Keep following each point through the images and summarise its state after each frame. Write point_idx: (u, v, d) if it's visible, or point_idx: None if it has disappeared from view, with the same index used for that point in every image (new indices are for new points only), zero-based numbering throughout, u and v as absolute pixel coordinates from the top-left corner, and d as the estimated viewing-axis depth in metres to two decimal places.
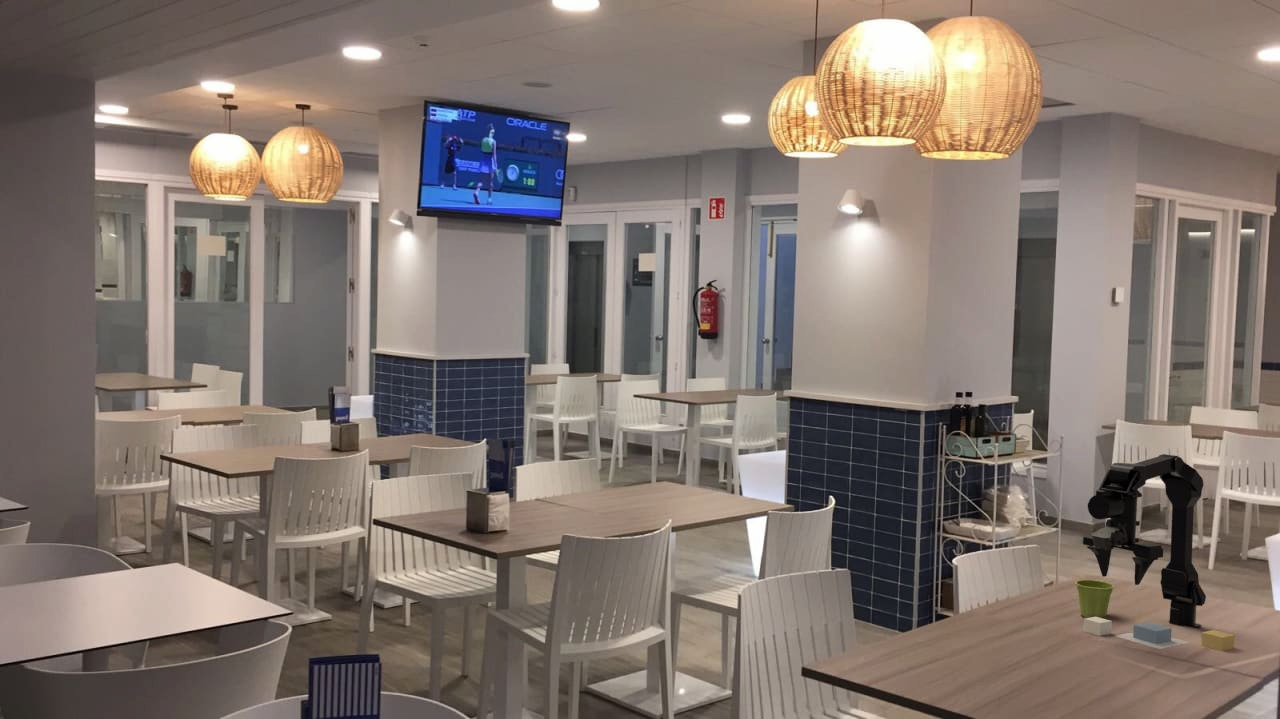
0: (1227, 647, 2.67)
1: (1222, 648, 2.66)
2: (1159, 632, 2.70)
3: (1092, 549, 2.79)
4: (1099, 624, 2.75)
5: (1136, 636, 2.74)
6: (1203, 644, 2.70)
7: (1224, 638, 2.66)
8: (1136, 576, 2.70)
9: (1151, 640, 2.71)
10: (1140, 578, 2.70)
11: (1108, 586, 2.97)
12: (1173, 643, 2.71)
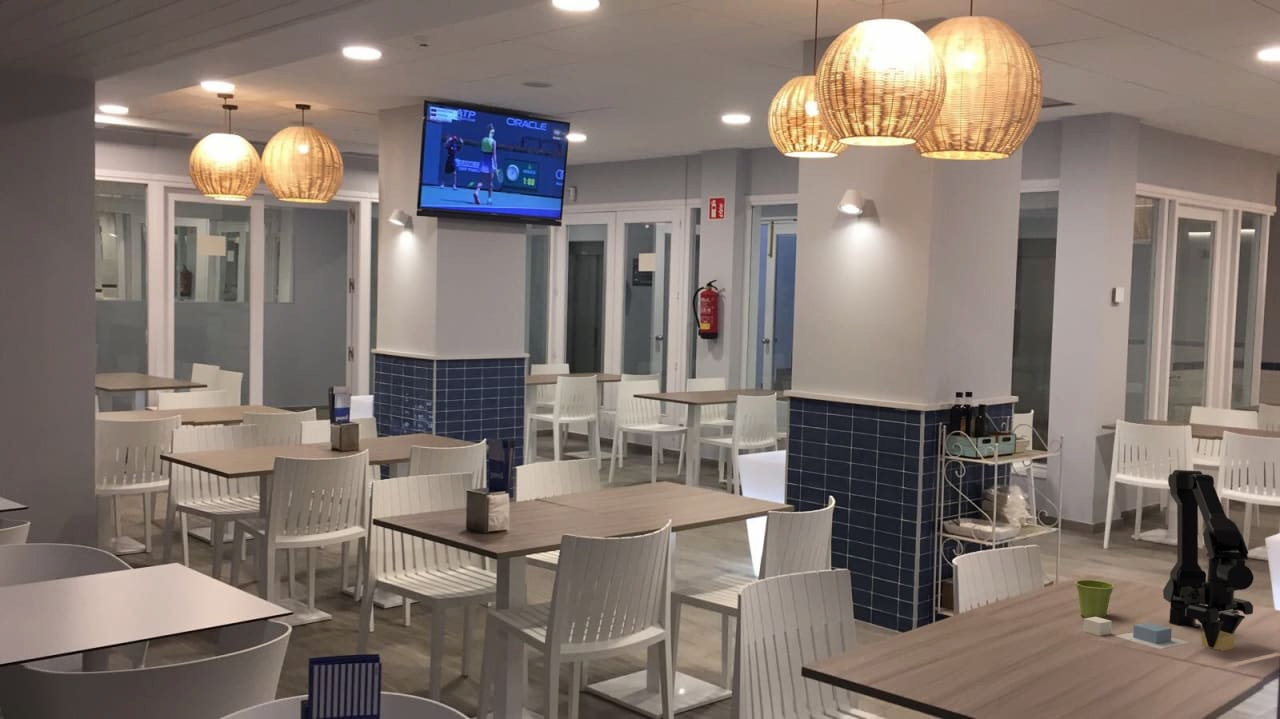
0: (1227, 646, 2.67)
1: (1222, 647, 2.66)
2: (1159, 632, 2.70)
3: None
4: (1099, 624, 2.75)
5: (1136, 636, 2.74)
6: (1203, 643, 2.70)
7: (1224, 637, 2.66)
8: None
9: (1151, 640, 2.71)
10: (1210, 640, 2.67)
11: (1108, 586, 2.97)
12: (1173, 643, 2.71)
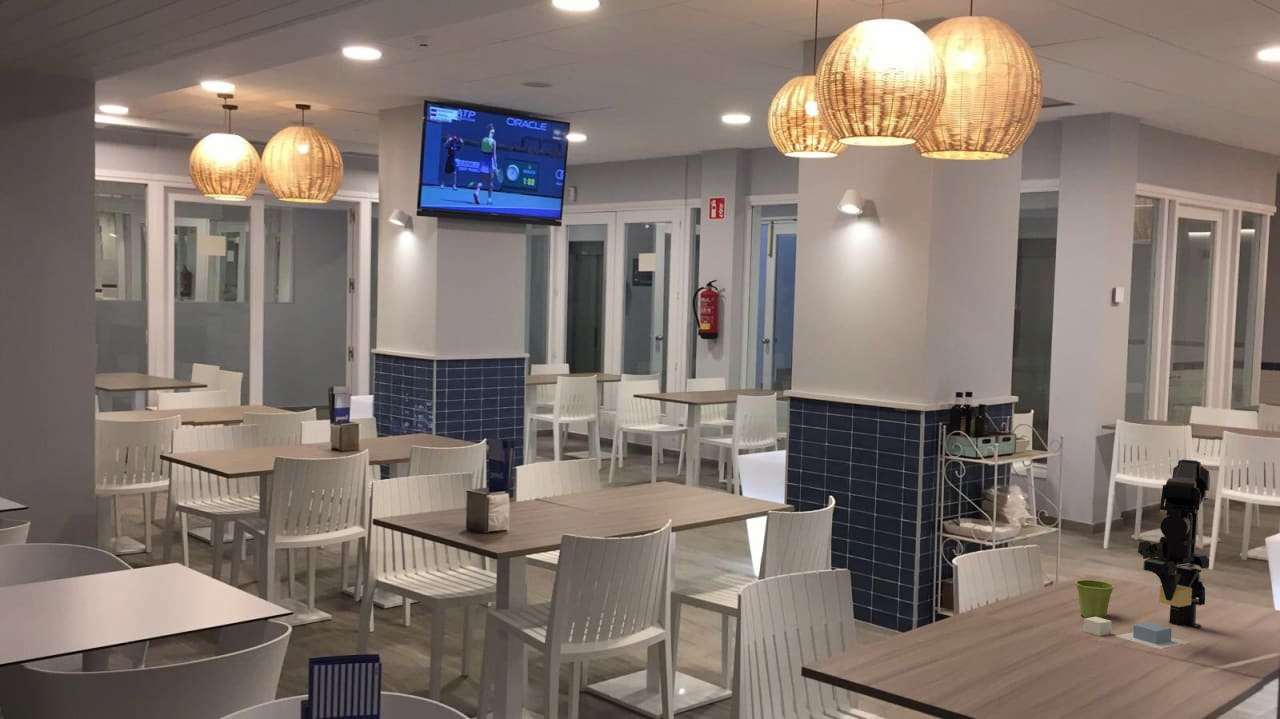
0: (1185, 600, 2.69)
1: (1180, 600, 2.68)
2: (1159, 632, 2.70)
3: None
4: (1099, 624, 2.75)
5: (1136, 636, 2.74)
6: (1161, 597, 2.72)
7: (1182, 591, 2.69)
8: None
9: (1151, 640, 2.71)
10: (1168, 594, 2.69)
11: (1108, 586, 2.97)
12: (1173, 643, 2.71)
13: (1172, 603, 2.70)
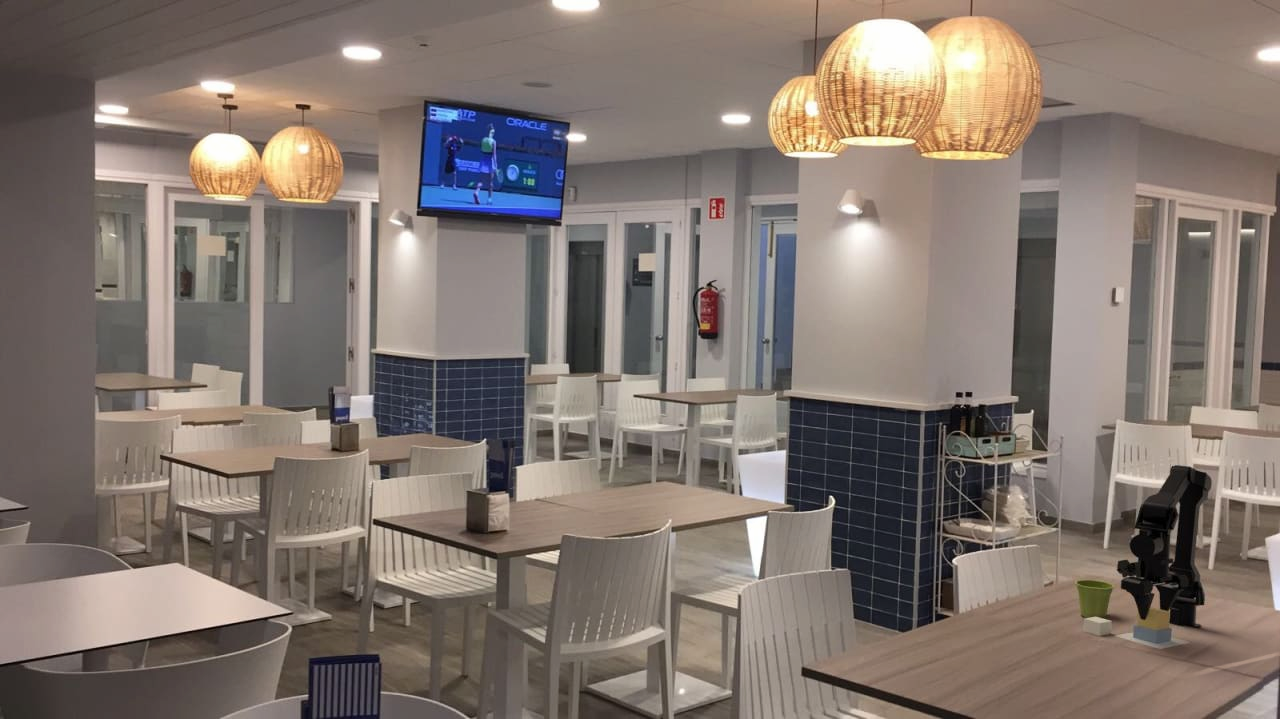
0: (1162, 623, 2.71)
1: (1157, 624, 2.70)
2: (1159, 632, 2.70)
3: None
4: (1099, 624, 2.75)
5: (1136, 636, 2.74)
6: (1139, 620, 2.74)
7: (1159, 614, 2.70)
8: None
9: (1151, 640, 2.71)
10: (1142, 613, 2.71)
11: (1108, 586, 2.97)
12: (1173, 643, 2.71)
13: (1149, 626, 2.72)
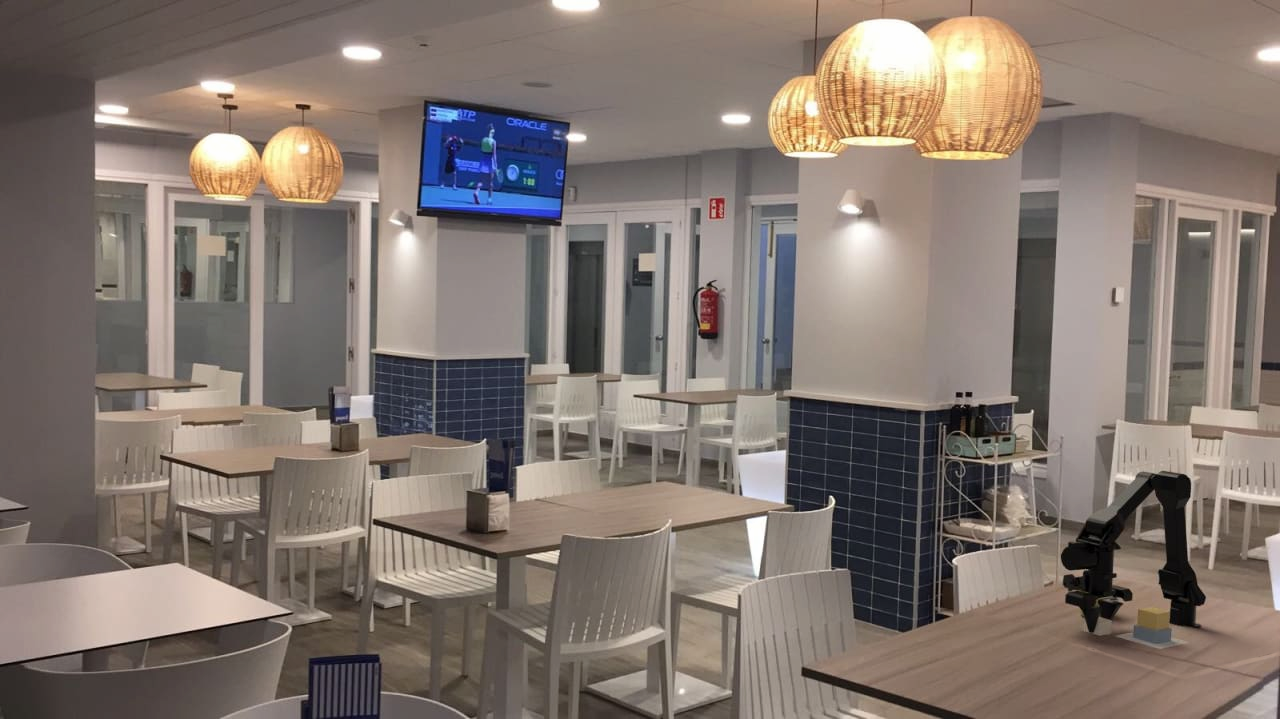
0: (1162, 623, 2.71)
1: (1157, 624, 2.70)
2: (1159, 632, 2.70)
3: None
4: (1099, 623, 2.75)
5: (1136, 636, 2.74)
6: (1139, 620, 2.74)
7: (1159, 614, 2.70)
8: None
9: (1151, 640, 2.71)
10: (1090, 626, 2.76)
11: None
12: (1173, 643, 2.71)
13: (1149, 626, 2.72)
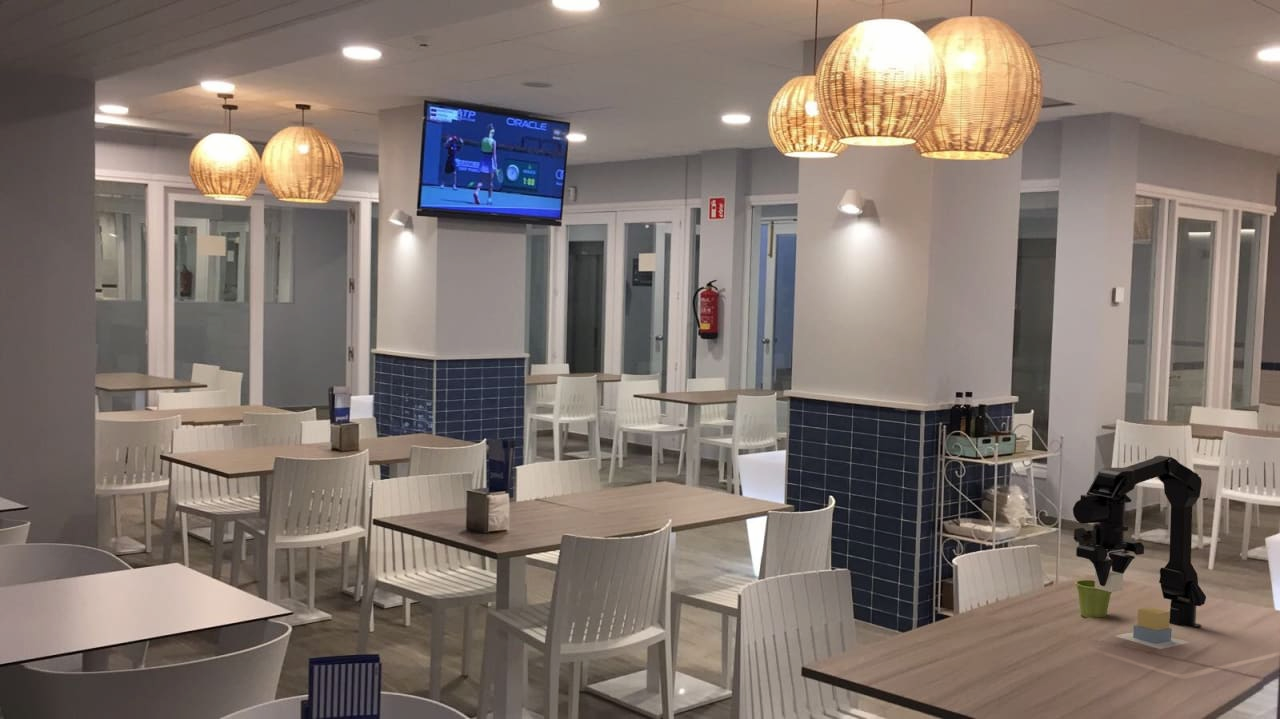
0: (1162, 623, 2.71)
1: (1157, 624, 2.70)
2: (1159, 632, 2.70)
3: None
4: (1110, 576, 2.74)
5: (1136, 636, 2.74)
6: (1139, 620, 2.74)
7: (1159, 614, 2.70)
8: None
9: (1151, 640, 2.71)
10: (1102, 579, 2.75)
11: None
12: (1173, 643, 2.71)
13: (1149, 626, 2.72)
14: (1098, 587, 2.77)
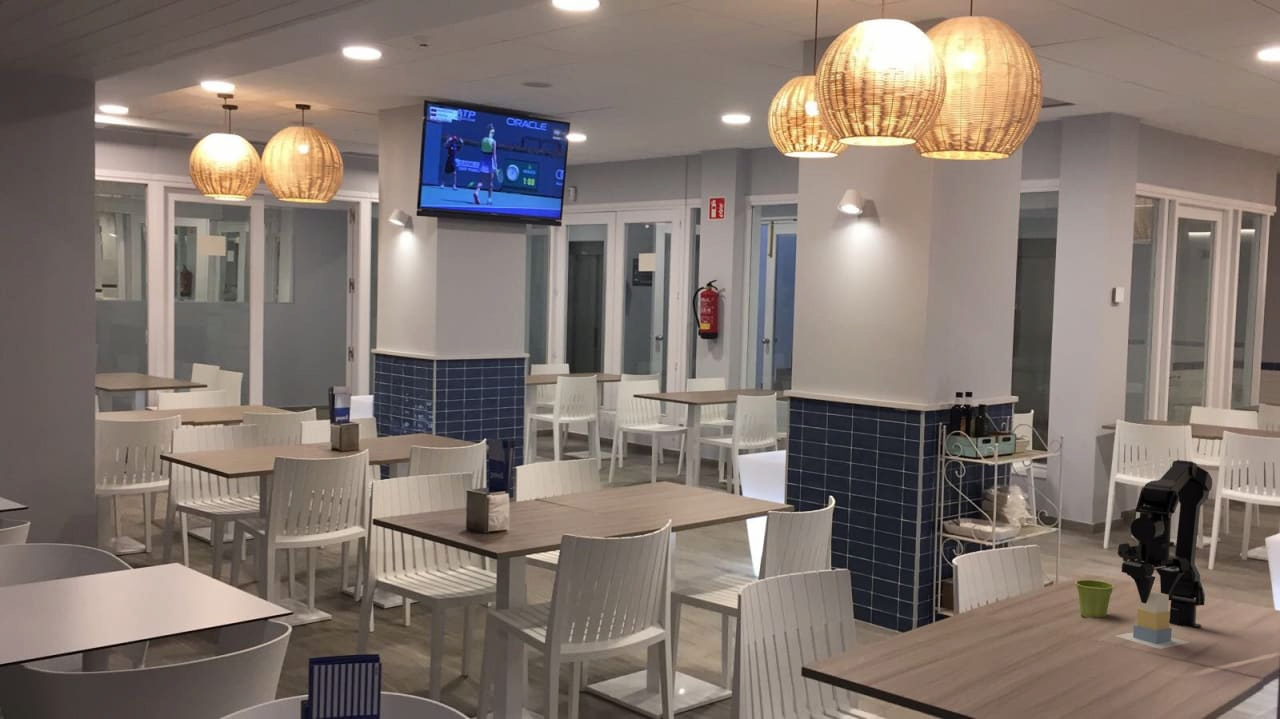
0: (1162, 623, 2.71)
1: (1157, 624, 2.70)
2: (1159, 632, 2.70)
3: None
4: (1156, 598, 2.70)
5: (1136, 636, 2.74)
6: (1139, 620, 2.74)
7: (1159, 614, 2.70)
8: None
9: (1151, 640, 2.71)
10: (1143, 596, 2.71)
11: (1108, 586, 2.97)
12: (1173, 643, 2.71)
13: (1149, 627, 2.72)
14: (1143, 608, 2.73)
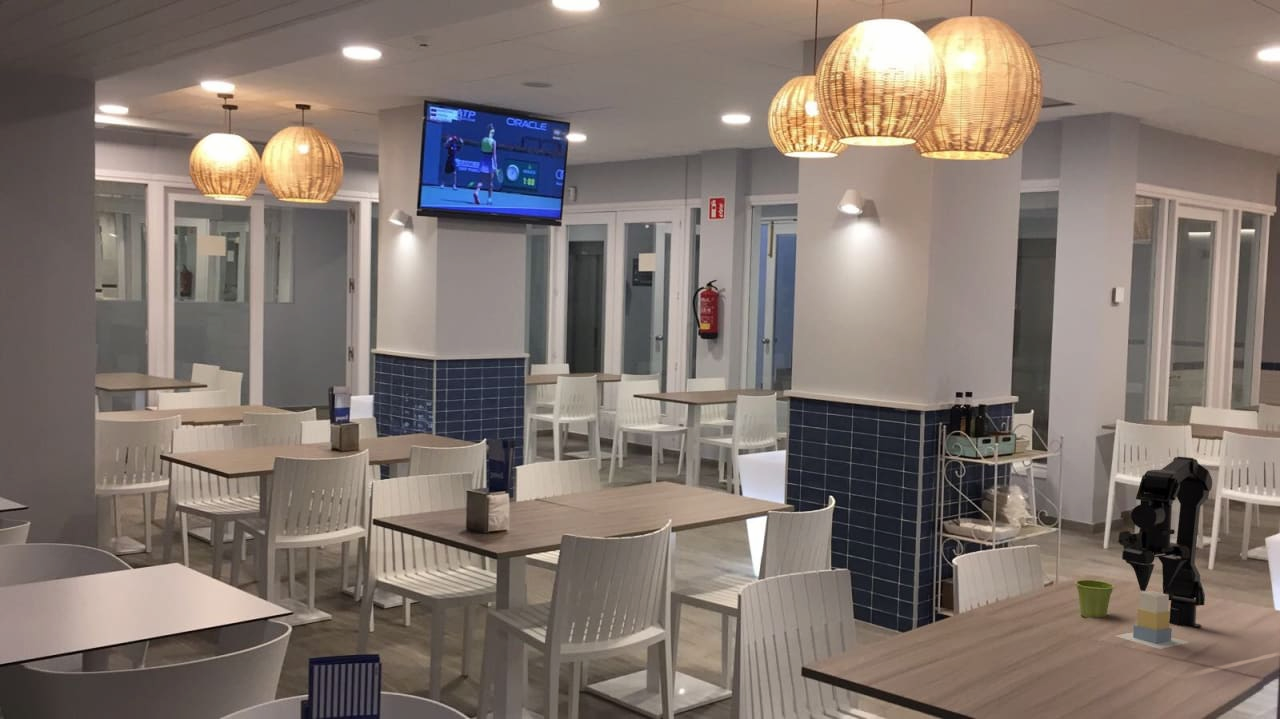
0: (1162, 623, 2.71)
1: (1157, 624, 2.70)
2: (1159, 632, 2.70)
3: None
4: (1156, 598, 2.70)
5: (1136, 636, 2.74)
6: (1139, 620, 2.74)
7: (1159, 614, 2.70)
8: None
9: (1151, 640, 2.71)
10: (1142, 584, 2.70)
11: (1108, 586, 2.97)
12: (1173, 643, 2.71)
13: (1149, 627, 2.72)
14: (1143, 608, 2.73)
